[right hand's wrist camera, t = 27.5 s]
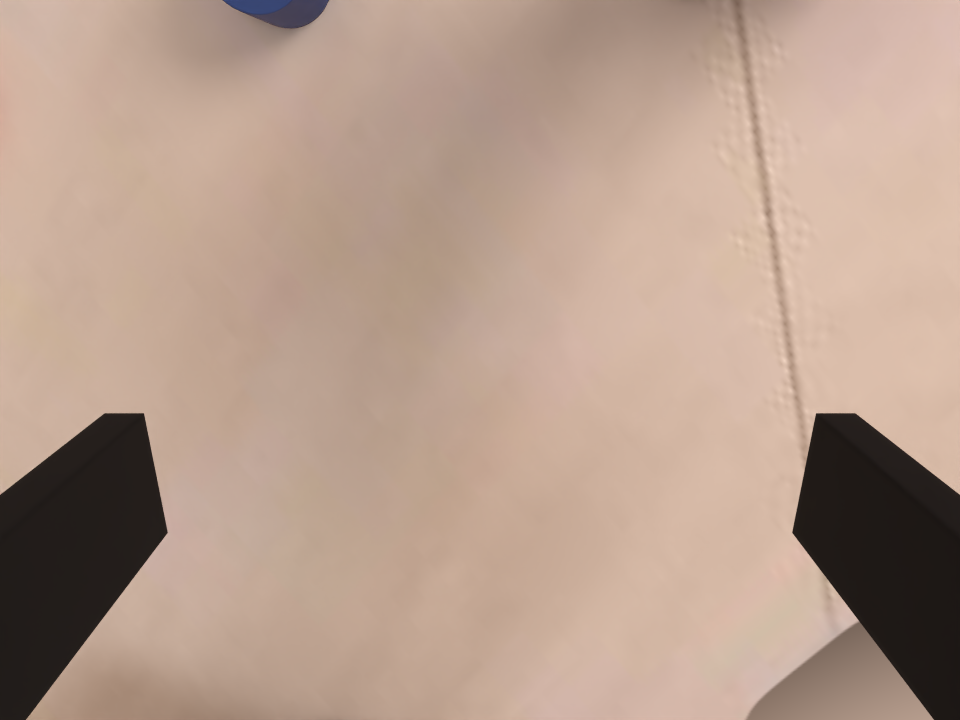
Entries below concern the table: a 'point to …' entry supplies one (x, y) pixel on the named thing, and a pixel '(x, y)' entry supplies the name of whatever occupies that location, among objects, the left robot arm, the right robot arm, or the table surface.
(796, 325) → the table surface
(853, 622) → the table surface
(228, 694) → the table surface
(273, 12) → the cylinder
